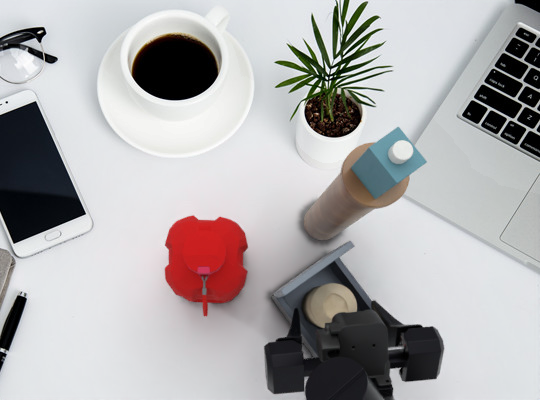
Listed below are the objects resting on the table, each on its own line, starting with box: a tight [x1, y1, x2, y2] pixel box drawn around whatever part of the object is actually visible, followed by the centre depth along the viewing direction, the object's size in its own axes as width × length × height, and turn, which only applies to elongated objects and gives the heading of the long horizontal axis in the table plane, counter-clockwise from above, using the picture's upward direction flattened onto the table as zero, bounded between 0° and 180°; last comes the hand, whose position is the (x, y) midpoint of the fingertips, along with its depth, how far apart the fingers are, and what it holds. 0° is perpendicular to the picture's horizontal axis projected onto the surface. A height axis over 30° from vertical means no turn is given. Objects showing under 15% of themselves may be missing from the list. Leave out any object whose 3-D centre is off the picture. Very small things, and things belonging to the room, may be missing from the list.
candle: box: [302, 283, 357, 328], centre depth 77 cm, size 6×6×10 cm
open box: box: [270, 257, 372, 358], centre depth 80 cm, size 10×10×6 cm
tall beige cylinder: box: [303, 141, 410, 241], centre depth 70 cm, size 6×6×30 cm
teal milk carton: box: [351, 126, 428, 199], centre depth 51 cm, size 4×3×8 cm
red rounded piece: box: [164, 215, 249, 318], centre depth 72 cm, size 9×11×25 cm
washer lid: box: [272, 240, 355, 298], centre depth 73 cm, size 10×10×1 cm
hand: (334, 306), depth 74 cm, fingers open, 9 cm apart
